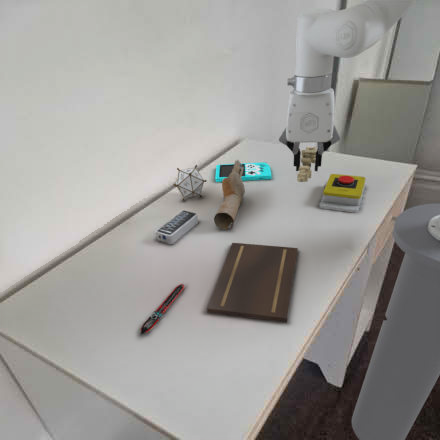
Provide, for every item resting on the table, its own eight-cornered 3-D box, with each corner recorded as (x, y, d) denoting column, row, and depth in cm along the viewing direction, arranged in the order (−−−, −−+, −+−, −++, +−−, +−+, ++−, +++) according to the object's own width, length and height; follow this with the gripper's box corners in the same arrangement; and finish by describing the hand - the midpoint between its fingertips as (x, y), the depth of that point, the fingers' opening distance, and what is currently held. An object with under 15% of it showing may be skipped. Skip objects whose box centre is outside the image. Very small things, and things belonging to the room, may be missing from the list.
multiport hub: (199, 221, 89) (198, 213, 88) (171, 244, 83) (170, 236, 81) (184, 218, 91) (183, 209, 90) (156, 240, 85) (154, 231, 83)
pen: (187, 286, 71) (187, 283, 71) (146, 336, 62) (145, 334, 61) (178, 284, 72) (178, 281, 71) (137, 333, 63) (136, 330, 62)
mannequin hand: (209, 235, 89) (235, 182, 105) (237, 232, 85) (260, 177, 102) (198, 210, 84) (227, 158, 100) (227, 206, 81) (253, 153, 97)
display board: (297, 251, 78) (297, 247, 77) (286, 322, 62) (287, 318, 62) (232, 246, 81) (232, 242, 80) (207, 312, 66) (206, 308, 65)
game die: (197, 211, 101) (198, 194, 91) (168, 199, 101) (167, 180, 91) (209, 184, 103) (212, 164, 93) (181, 172, 103) (181, 151, 93)
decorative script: (302, 155, 96) (302, 142, 94) (317, 155, 95) (318, 142, 93) (295, 184, 83) (296, 170, 81) (313, 185, 82) (314, 170, 80)
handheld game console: (271, 179, 105) (271, 175, 104) (215, 182, 106) (214, 178, 105) (268, 165, 112) (269, 161, 111) (216, 168, 113) (216, 163, 112)
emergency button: (368, 170, 95) (361, 196, 85) (365, 186, 98) (358, 213, 88) (331, 166, 98) (320, 191, 88) (329, 182, 101) (318, 207, 91)
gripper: (270, 89, 77) (270, 175, 88) (355, 85, 73) (343, 176, 84) (275, 81, 82) (274, 163, 94) (354, 77, 78) (343, 163, 90)
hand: (307, 168), depth 89 cm, fingers closed on decorative script, 3 cm apart
